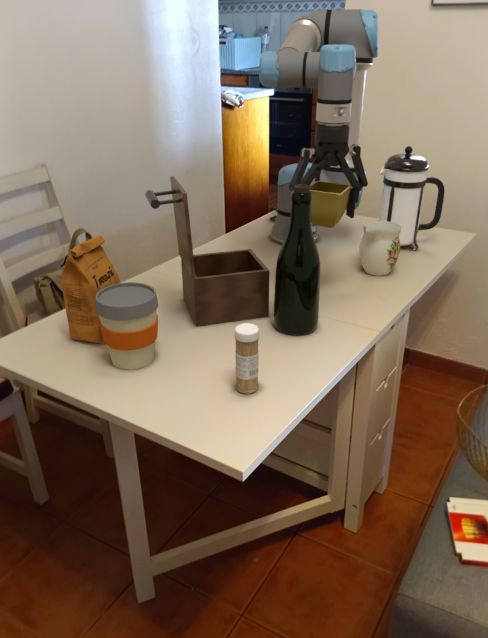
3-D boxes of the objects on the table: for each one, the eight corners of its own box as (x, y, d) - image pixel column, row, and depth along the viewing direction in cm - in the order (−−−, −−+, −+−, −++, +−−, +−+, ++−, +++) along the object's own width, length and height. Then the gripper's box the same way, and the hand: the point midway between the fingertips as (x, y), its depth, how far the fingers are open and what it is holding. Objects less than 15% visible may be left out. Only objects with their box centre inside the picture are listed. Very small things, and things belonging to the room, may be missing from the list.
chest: (250, 292, 156) (250, 248, 150) (268, 316, 143) (269, 270, 137) (183, 300, 151) (180, 256, 145) (196, 326, 139) (193, 279, 133)
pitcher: (409, 265, 172) (416, 219, 165) (382, 285, 160) (388, 236, 153) (375, 256, 178) (380, 212, 171) (346, 275, 166) (350, 227, 159)
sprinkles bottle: (252, 380, 119) (252, 320, 112) (262, 391, 115) (263, 330, 109) (231, 385, 117) (230, 325, 111) (241, 397, 114) (241, 335, 107)
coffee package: (133, 325, 139) (123, 235, 128) (99, 349, 130) (85, 254, 119) (99, 317, 143) (87, 229, 132) (64, 339, 134) (47, 246, 123)
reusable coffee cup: (167, 368, 123) (162, 303, 115) (105, 378, 120) (96, 311, 112) (157, 340, 133) (152, 278, 126) (101, 348, 130) (92, 285, 123)
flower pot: (348, 221, 144) (351, 184, 140) (338, 232, 137) (341, 193, 133) (314, 216, 147) (316, 180, 143) (302, 227, 141) (304, 189, 136)
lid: (173, 176, 136) (141, 180, 134) (186, 192, 123) (151, 197, 121) (182, 253, 145) (152, 258, 144) (195, 276, 133) (163, 282, 131)
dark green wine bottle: (290, 340, 133) (296, 194, 116) (264, 322, 141) (267, 183, 124) (326, 329, 138) (337, 187, 121) (300, 312, 145) (306, 176, 129)
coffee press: (404, 257, 177) (419, 154, 162) (362, 243, 188) (372, 145, 173) (437, 244, 187) (453, 146, 172) (395, 232, 198) (408, 138, 183)
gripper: (288, 128, 125) (284, 228, 135) (389, 123, 131) (378, 218, 142) (275, 123, 131) (273, 218, 142) (373, 117, 137) (364, 209, 148)
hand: (326, 218), depth 142 cm, fingers closed on flower pot, 12 cm apart
